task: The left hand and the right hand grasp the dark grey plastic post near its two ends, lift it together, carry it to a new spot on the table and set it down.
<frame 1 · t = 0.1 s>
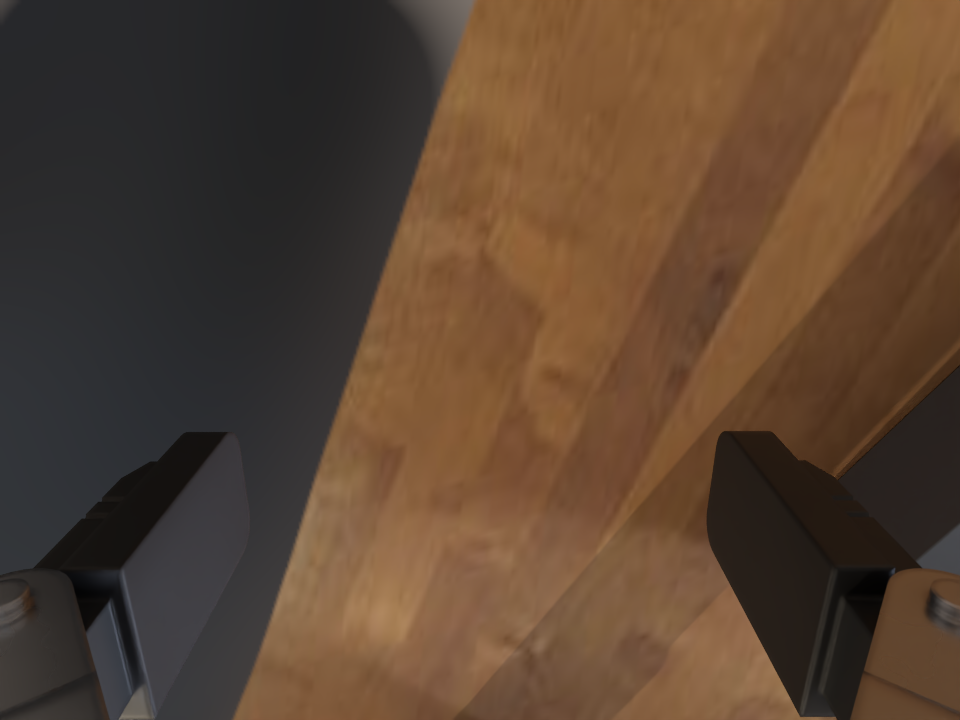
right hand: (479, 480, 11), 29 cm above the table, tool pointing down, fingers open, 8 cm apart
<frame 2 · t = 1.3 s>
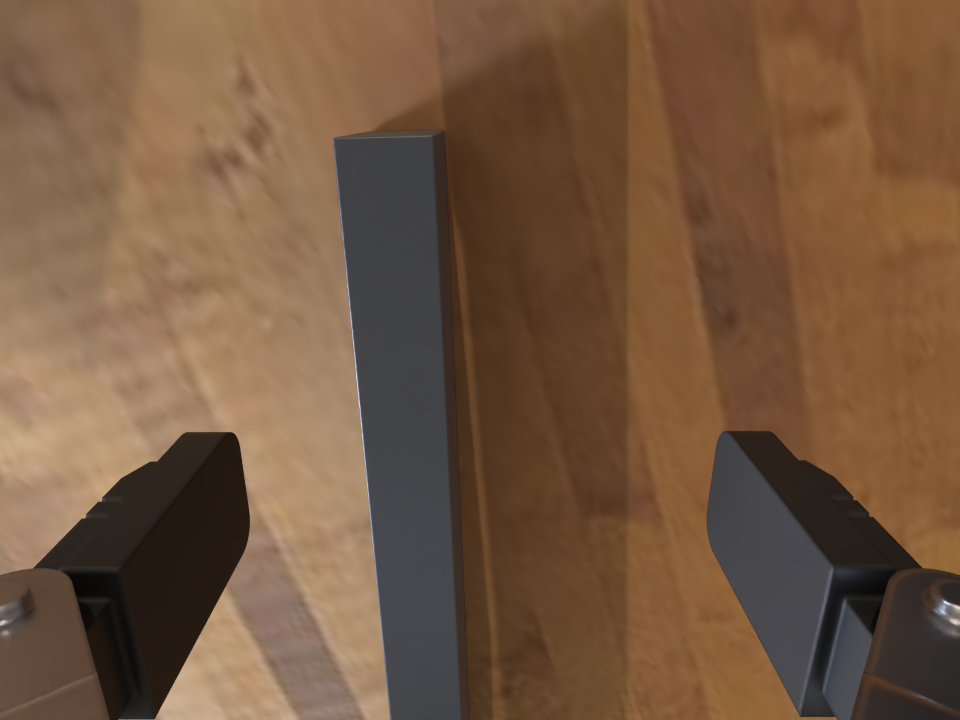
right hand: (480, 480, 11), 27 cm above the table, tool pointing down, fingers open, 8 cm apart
post: (441, 705, 49), on the table
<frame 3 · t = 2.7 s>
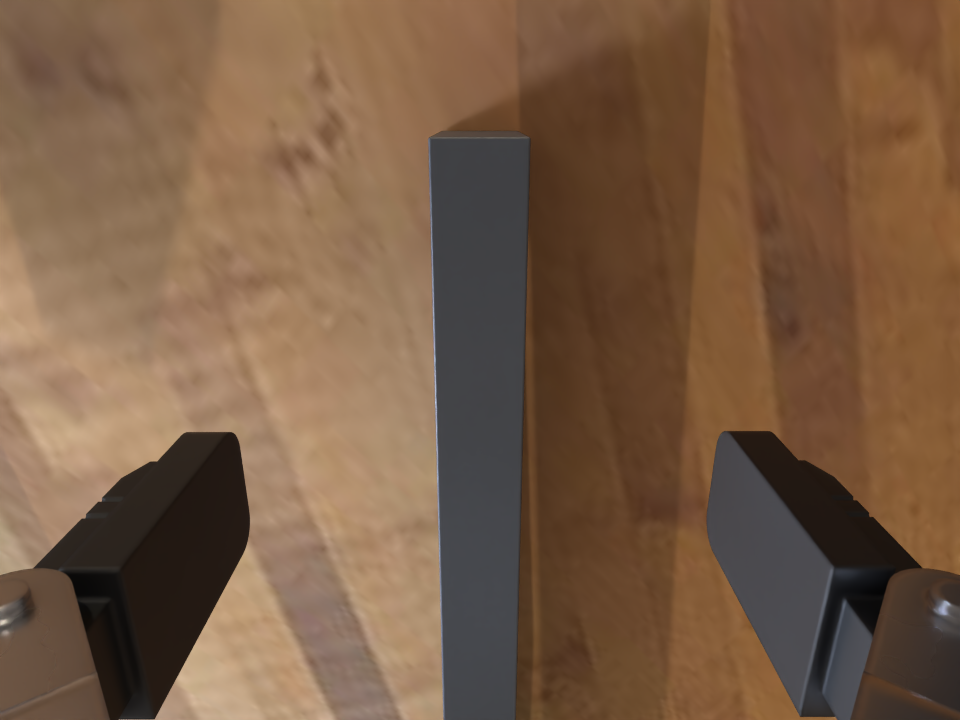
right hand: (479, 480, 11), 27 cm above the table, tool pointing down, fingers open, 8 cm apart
post: (479, 707, 49), on the table, touching left hand
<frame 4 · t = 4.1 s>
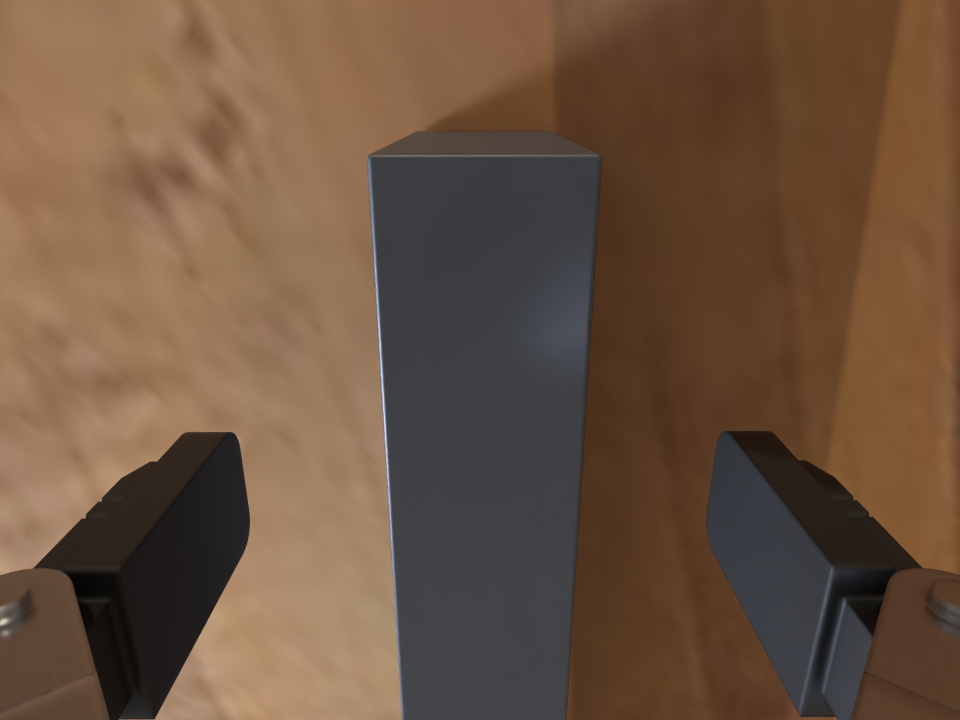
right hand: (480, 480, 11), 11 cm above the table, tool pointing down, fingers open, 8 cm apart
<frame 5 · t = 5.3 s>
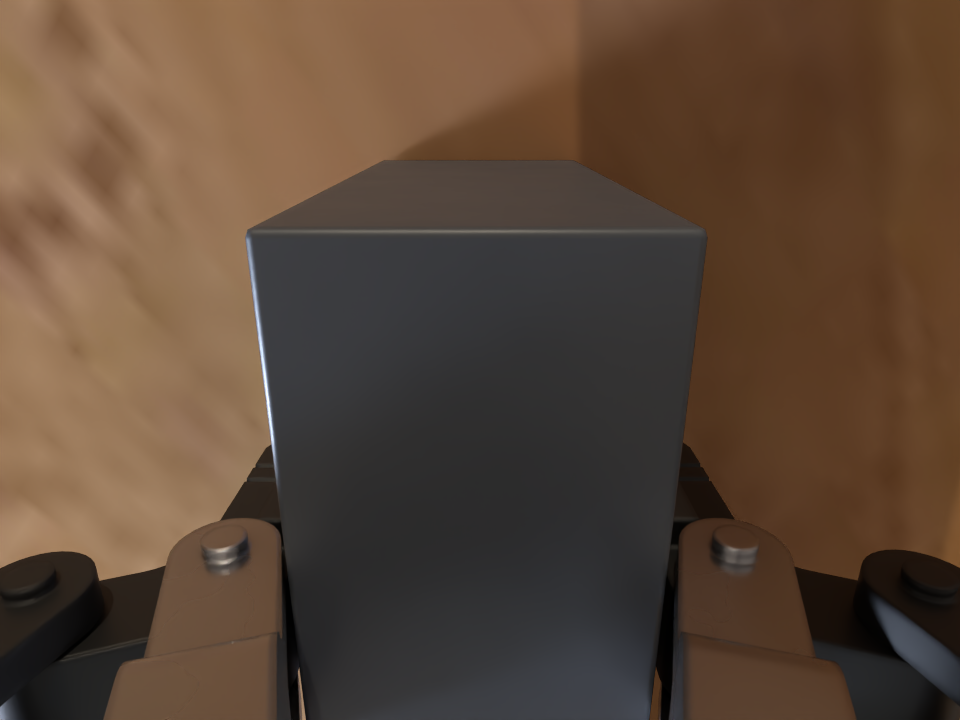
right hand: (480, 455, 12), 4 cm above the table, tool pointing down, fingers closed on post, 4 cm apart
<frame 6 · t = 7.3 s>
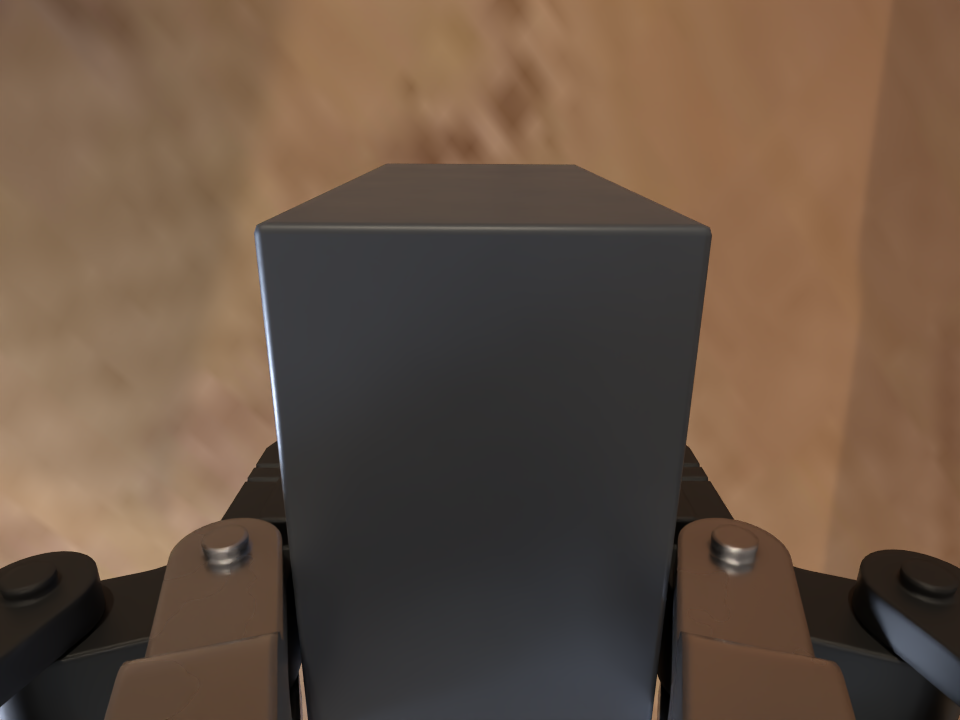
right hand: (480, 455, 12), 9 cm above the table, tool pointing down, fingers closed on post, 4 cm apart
when the left hand's fingers open (2 cm above the table, at t = 9.2 s): post drops 1 cm, on the table.
when the right hand's fingers open (5 cm above the table, at t = 9.4 s): post stays where it is, on the table.
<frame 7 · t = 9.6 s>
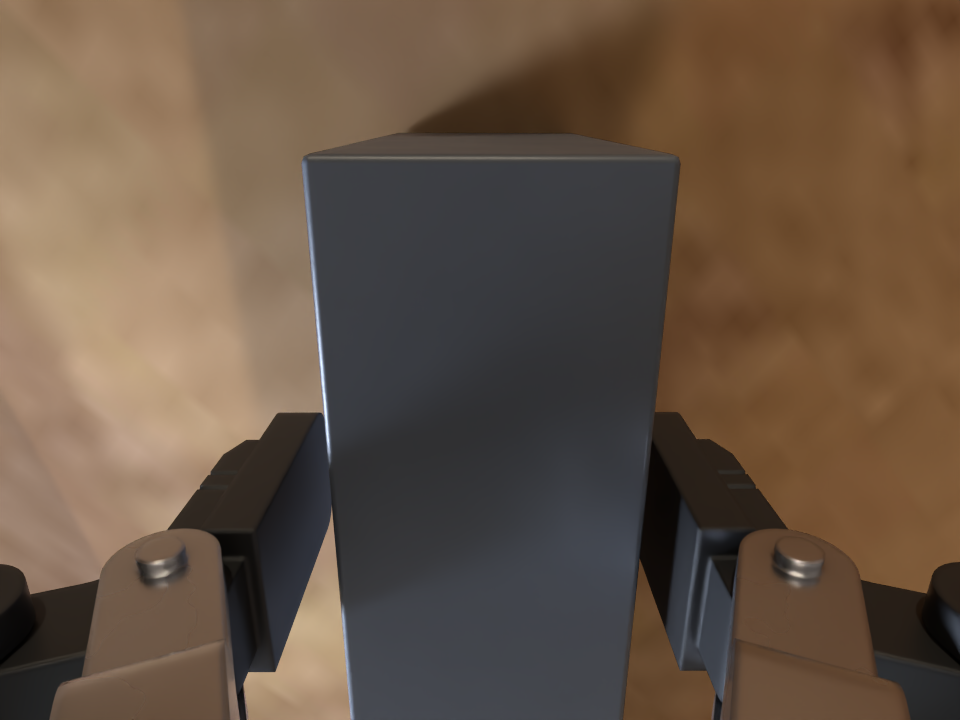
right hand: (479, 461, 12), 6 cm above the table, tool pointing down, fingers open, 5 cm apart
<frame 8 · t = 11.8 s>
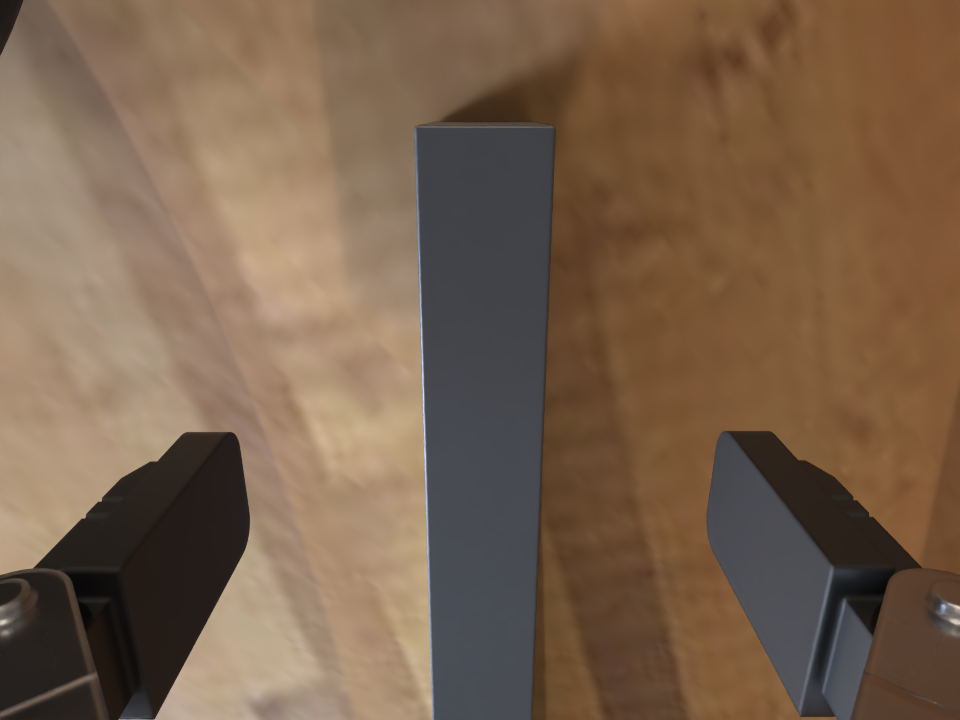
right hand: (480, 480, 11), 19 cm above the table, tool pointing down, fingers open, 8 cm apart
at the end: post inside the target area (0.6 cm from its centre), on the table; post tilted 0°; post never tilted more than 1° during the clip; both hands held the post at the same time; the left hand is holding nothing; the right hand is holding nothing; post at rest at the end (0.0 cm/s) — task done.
